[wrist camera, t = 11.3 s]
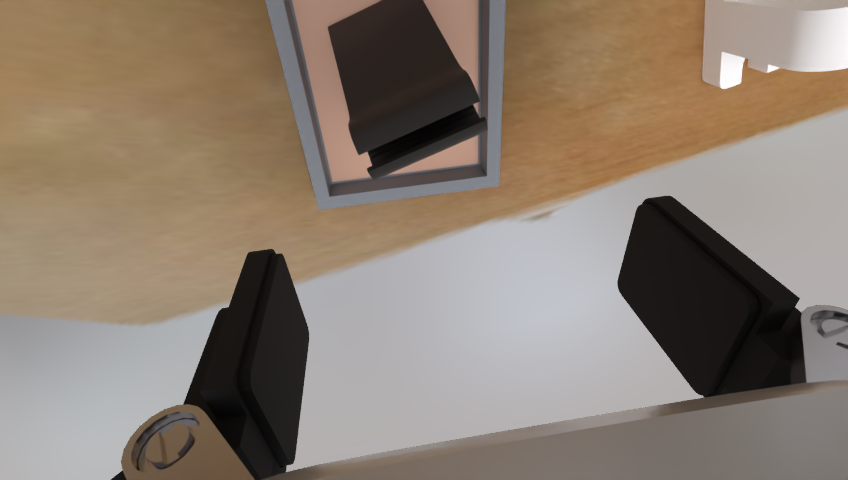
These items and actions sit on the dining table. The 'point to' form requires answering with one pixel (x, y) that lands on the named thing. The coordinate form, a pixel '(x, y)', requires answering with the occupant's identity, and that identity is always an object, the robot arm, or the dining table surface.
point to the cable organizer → (773, 37)
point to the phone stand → (402, 85)
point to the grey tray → (328, 114)
